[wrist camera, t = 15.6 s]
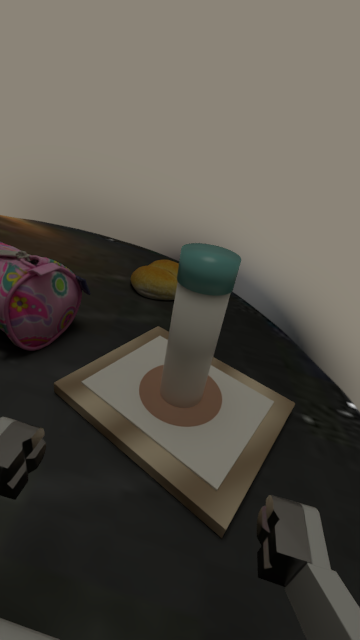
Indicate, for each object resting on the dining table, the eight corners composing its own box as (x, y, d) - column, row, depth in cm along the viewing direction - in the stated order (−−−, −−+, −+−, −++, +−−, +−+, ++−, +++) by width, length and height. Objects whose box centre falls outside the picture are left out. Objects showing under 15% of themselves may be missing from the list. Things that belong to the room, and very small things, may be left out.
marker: (149, 390, 24) (169, 248, 18) (176, 369, 27) (202, 240, 21) (186, 417, 22) (222, 269, 16) (211, 391, 25) (251, 257, 19)
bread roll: (119, 288, 42) (121, 262, 40) (156, 273, 49) (159, 250, 47) (166, 310, 39) (170, 282, 37) (198, 290, 46) (203, 266, 44)
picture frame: (54, 391, 24) (53, 380, 23) (157, 333, 34) (158, 324, 33) (221, 538, 17) (227, 527, 16) (291, 411, 26) (296, 400, 26)
